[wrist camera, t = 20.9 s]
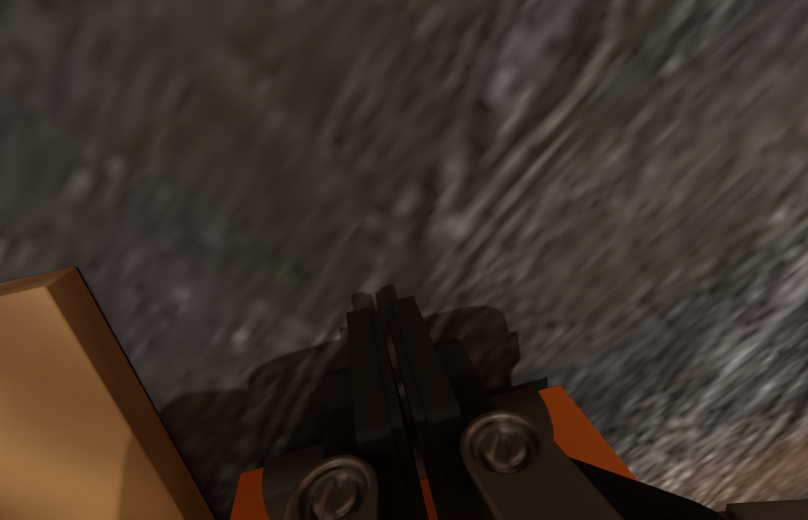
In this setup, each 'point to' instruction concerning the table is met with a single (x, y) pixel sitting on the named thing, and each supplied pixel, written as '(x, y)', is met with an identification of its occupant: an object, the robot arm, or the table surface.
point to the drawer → (551, 408)
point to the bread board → (79, 416)
